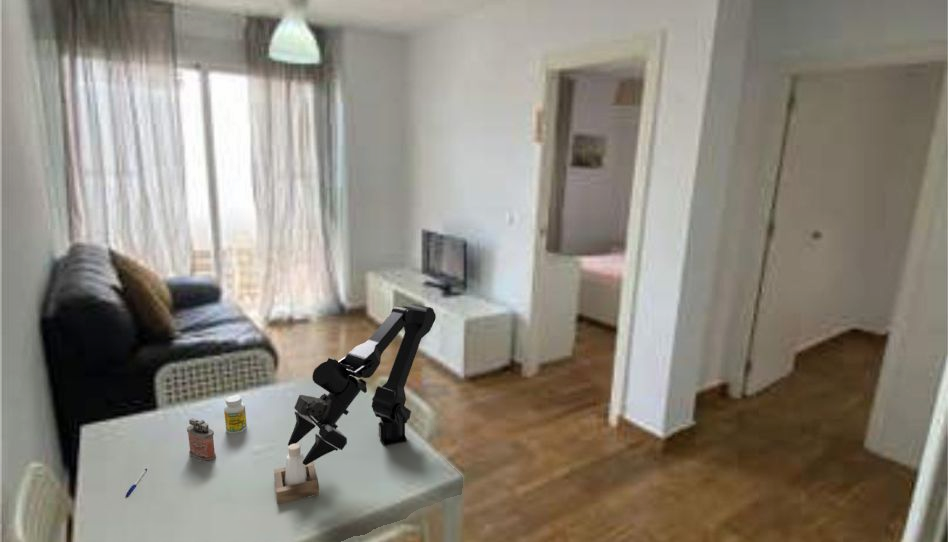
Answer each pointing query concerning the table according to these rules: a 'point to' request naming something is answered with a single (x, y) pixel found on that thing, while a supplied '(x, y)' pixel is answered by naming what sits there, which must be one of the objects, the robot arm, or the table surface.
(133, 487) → the ballpoint pen
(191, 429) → the lighter
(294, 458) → the pepper shaker
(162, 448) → the table surface
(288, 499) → the socket block
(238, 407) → the supplement bottle
